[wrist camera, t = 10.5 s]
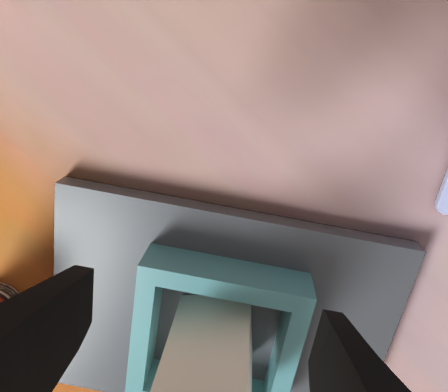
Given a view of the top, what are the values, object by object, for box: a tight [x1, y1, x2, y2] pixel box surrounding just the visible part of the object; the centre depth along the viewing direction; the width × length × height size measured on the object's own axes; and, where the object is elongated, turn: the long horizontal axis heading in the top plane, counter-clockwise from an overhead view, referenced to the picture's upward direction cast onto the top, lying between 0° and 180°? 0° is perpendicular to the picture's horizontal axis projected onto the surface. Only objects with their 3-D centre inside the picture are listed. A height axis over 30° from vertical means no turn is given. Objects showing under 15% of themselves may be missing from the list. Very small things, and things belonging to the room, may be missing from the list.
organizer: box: [54, 176, 426, 392], centre depth 23 cm, size 20×14×4 cm
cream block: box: [150, 295, 253, 392], centre depth 20 cm, size 4×4×8 cm
